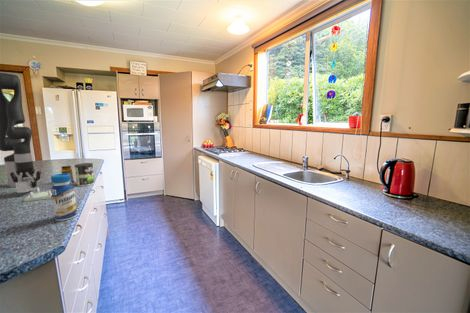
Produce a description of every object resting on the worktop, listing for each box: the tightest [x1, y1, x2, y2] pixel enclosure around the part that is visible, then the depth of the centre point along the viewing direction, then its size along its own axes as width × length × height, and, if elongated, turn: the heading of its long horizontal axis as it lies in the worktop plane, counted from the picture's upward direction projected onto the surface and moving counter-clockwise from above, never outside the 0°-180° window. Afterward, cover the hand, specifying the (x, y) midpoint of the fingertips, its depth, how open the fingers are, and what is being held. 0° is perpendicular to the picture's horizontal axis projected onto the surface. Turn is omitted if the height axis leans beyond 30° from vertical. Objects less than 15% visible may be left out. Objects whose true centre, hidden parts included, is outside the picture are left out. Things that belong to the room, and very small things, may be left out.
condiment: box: [61, 165, 74, 184], centre depth 153 cm, size 7×8×12 cm
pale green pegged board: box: [23, 187, 52, 203], centre depth 124 cm, size 14×11×4 cm
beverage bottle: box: [50, 173, 78, 222], centre depth 96 cm, size 8×8×20 cm
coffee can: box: [74, 162, 95, 187], centre depth 148 cm, size 10×10×14 cm
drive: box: [15, 176, 40, 193], centre depth 129 cm, size 12×5×6 cm, turn 18°
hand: (28, 187), depth 130 cm, fingers closed on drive, 5 cm apart
